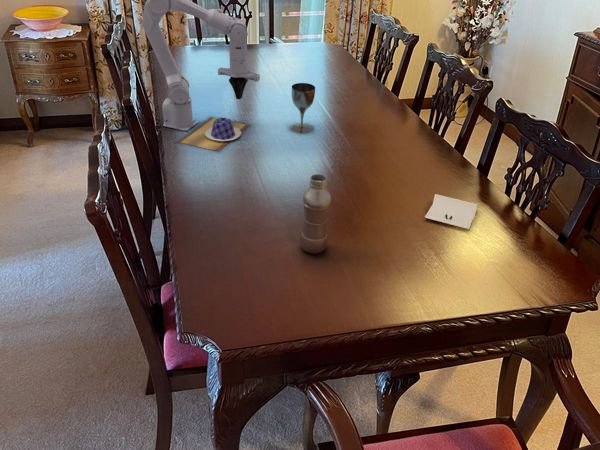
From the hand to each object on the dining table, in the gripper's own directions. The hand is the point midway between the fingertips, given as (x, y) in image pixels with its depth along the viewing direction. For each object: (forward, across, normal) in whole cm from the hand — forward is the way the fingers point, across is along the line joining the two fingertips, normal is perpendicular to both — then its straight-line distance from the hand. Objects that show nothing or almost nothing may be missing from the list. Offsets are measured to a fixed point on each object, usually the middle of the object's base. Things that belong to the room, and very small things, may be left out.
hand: (239, 98), depth 189 cm
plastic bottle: (+10, +48, -58) cm, 77 cm away
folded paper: (+10, +78, -29) cm, 83 cm away
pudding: (+10, -1, -11) cm, 15 cm away
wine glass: (+10, +21, +6) cm, 24 cm away
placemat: (+9, -4, -11) cm, 15 cm away
